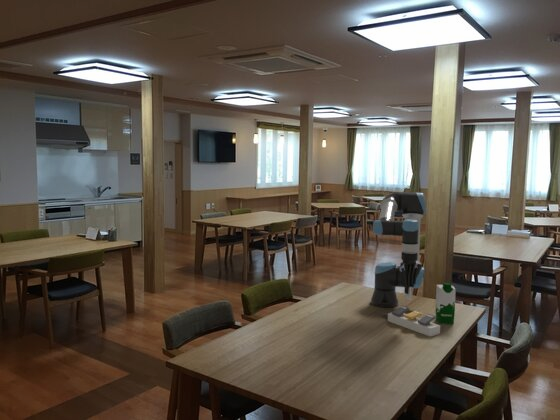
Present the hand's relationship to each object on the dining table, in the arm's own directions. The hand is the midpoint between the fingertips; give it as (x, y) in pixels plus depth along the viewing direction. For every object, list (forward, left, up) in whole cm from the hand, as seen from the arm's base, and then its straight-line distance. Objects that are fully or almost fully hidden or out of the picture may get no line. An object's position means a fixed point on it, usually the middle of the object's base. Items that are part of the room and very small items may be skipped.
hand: (408, 299), depth 227 cm
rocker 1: (-2, -6, -7) cm, 10 cm away
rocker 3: (-2, +10, -7) cm, 13 cm away
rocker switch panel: (-2, -2, -13) cm, 14 cm away
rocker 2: (-2, +2, -7) cm, 8 cm away
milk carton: (-22, +5, -14) cm, 27 cm away
